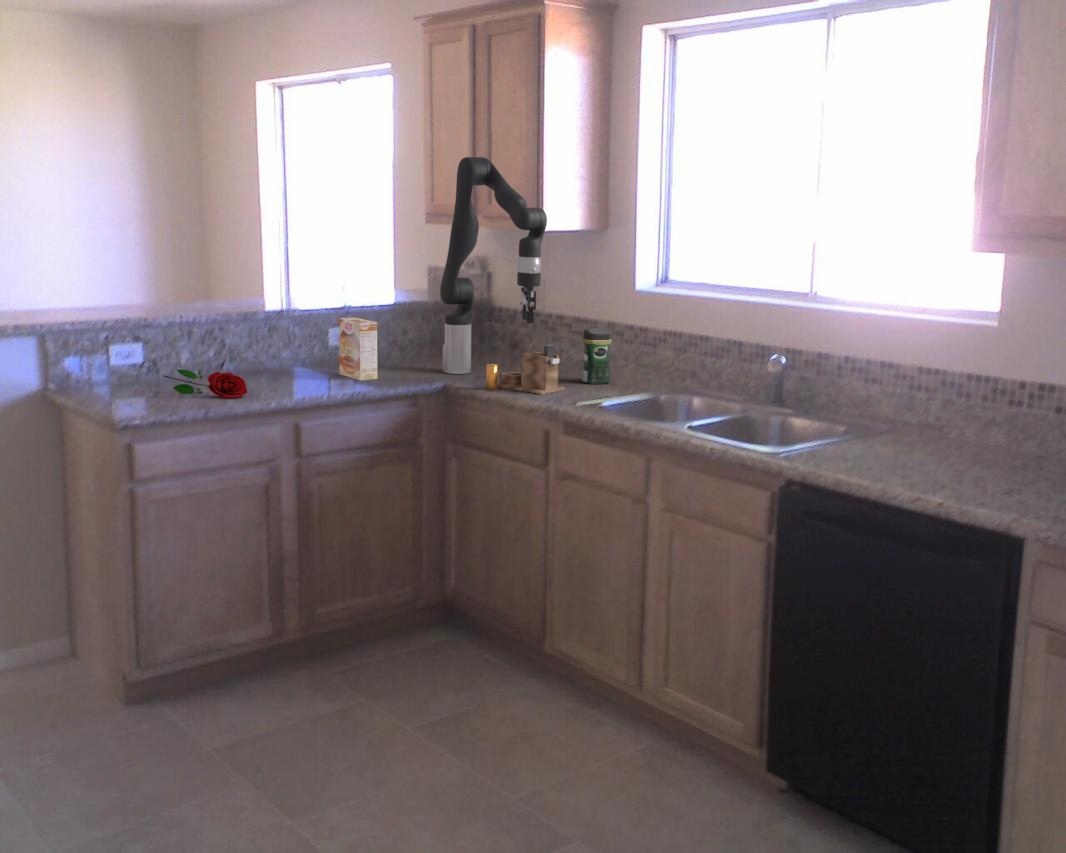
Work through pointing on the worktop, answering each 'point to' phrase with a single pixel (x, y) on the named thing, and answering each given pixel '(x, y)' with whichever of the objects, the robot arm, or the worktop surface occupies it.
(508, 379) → the mount
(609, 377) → the coffee jar
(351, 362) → the coffeecake box
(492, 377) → the peg
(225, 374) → the flower
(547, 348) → the grey angular block
